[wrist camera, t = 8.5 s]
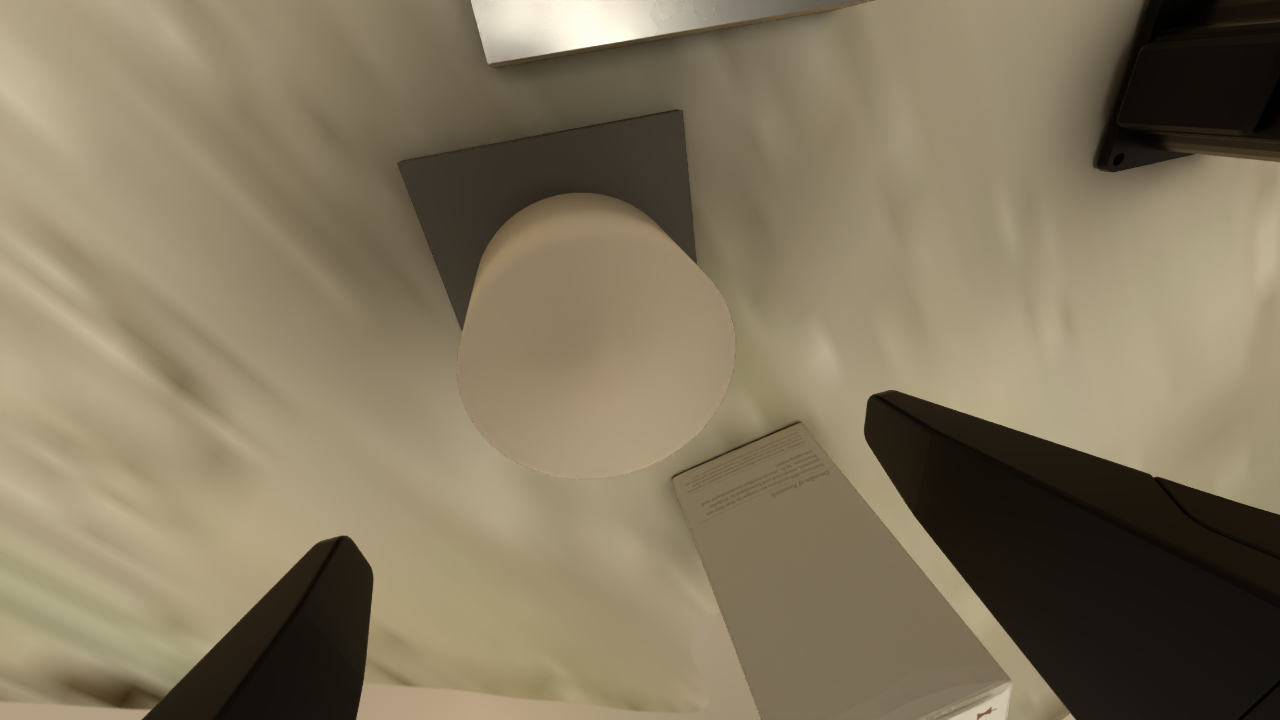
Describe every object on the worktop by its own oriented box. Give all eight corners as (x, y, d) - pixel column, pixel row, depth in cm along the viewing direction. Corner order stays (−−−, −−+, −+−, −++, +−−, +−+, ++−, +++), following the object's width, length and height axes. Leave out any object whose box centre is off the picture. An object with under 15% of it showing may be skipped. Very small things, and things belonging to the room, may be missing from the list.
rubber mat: (677, 109, 16) (682, 110, 15) (699, 343, 21) (704, 349, 20) (401, 160, 15) (397, 163, 15) (490, 393, 20) (489, 401, 19)
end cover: (649, 159, 16) (728, 206, 10) (670, 328, 19) (740, 443, 13) (454, 197, 15) (408, 273, 9) (511, 365, 19) (506, 505, 12)
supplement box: (666, 475, 24) (782, 789, 13) (802, 417, 24) (1028, 683, 13) (705, 559, 28) (819, 854, 17) (822, 508, 28) (1009, 772, 17)
